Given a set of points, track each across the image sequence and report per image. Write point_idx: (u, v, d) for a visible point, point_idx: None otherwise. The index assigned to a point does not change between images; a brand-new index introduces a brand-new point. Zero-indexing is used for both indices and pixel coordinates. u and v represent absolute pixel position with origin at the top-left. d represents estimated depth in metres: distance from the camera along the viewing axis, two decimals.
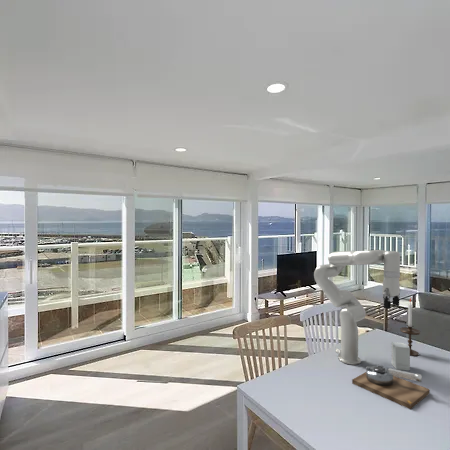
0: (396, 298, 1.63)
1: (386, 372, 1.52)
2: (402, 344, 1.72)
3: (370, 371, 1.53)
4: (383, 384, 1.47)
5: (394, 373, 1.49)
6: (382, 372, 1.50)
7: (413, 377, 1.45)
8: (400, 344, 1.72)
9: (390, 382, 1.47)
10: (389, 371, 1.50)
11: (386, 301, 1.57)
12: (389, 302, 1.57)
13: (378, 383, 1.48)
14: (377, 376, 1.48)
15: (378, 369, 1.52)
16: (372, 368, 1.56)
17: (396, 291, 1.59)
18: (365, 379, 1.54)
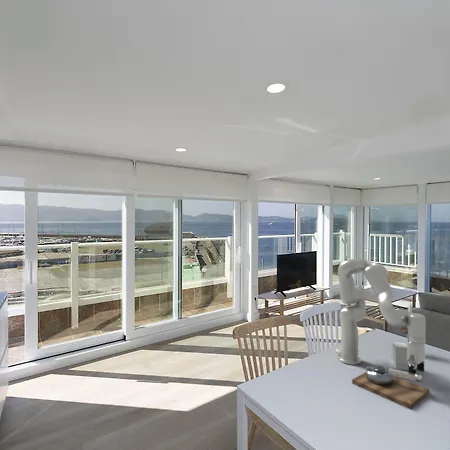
0: (421, 363, 1.53)
1: (386, 372, 1.52)
2: (402, 344, 1.72)
3: (370, 371, 1.53)
4: (383, 384, 1.47)
5: (394, 373, 1.49)
6: (382, 372, 1.50)
7: (413, 377, 1.45)
8: (400, 344, 1.72)
9: (390, 382, 1.47)
10: (389, 371, 1.50)
11: (411, 369, 1.47)
12: (415, 371, 1.47)
13: (378, 383, 1.48)
14: (377, 376, 1.48)
15: (378, 369, 1.52)
16: (372, 368, 1.56)
17: (421, 358, 1.49)
18: (365, 379, 1.54)
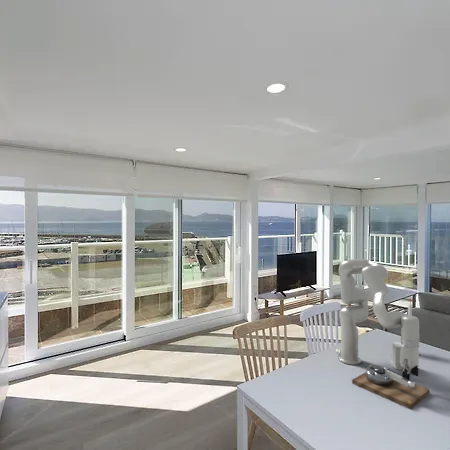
0: (415, 367, 1.48)
1: None
2: None
3: (370, 369, 1.55)
4: (374, 382, 1.49)
5: (389, 375, 1.47)
6: (379, 372, 1.51)
7: (405, 382, 1.39)
8: (400, 344, 1.72)
9: (383, 383, 1.47)
10: (386, 372, 1.48)
11: (405, 373, 1.42)
12: (409, 375, 1.41)
13: (370, 380, 1.50)
14: (370, 373, 1.51)
15: (377, 368, 1.53)
16: None
17: (415, 362, 1.44)
18: (365, 379, 1.54)
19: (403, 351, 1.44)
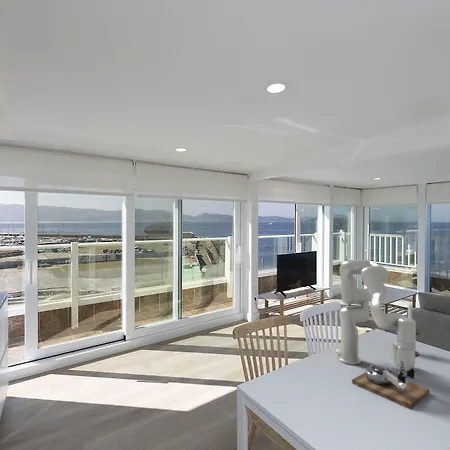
0: (411, 370, 1.46)
1: None
2: None
3: (371, 368, 1.56)
4: (371, 380, 1.50)
5: (386, 375, 1.46)
6: (377, 371, 1.51)
7: (397, 383, 1.38)
8: None
9: (379, 382, 1.47)
10: (383, 372, 1.48)
11: (400, 376, 1.40)
12: (404, 378, 1.40)
13: (368, 378, 1.52)
14: (367, 371, 1.53)
15: (377, 368, 1.53)
16: None
17: (411, 364, 1.42)
18: (365, 379, 1.54)
19: (399, 353, 1.42)
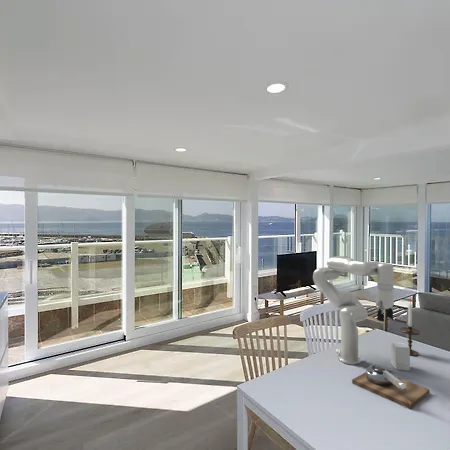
0: (390, 310, 1.63)
1: None
2: (402, 344, 1.72)
3: (371, 368, 1.56)
4: (371, 380, 1.50)
5: (385, 375, 1.46)
6: (377, 371, 1.51)
7: (397, 383, 1.38)
8: (400, 344, 1.72)
9: (379, 382, 1.47)
10: (383, 372, 1.48)
11: (379, 314, 1.57)
12: (383, 315, 1.56)
13: (368, 378, 1.52)
14: (367, 371, 1.53)
15: (377, 368, 1.53)
16: None
17: (389, 304, 1.59)
18: (365, 379, 1.54)
19: (378, 294, 1.58)
